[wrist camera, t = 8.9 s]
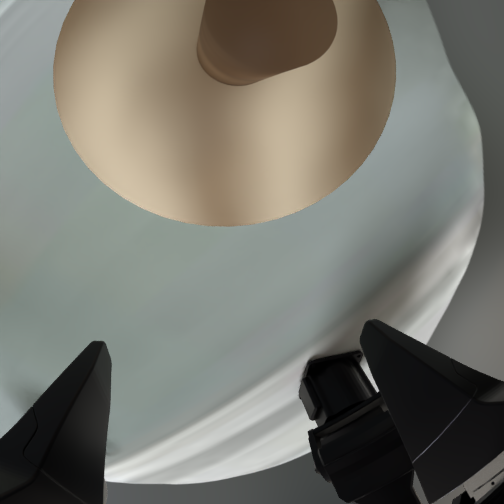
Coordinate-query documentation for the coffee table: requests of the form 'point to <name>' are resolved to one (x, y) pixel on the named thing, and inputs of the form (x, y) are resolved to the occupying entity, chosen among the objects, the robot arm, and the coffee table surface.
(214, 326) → the coffee table surface
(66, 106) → the lid
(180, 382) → the coffee table surface
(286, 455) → the coffee table surface
